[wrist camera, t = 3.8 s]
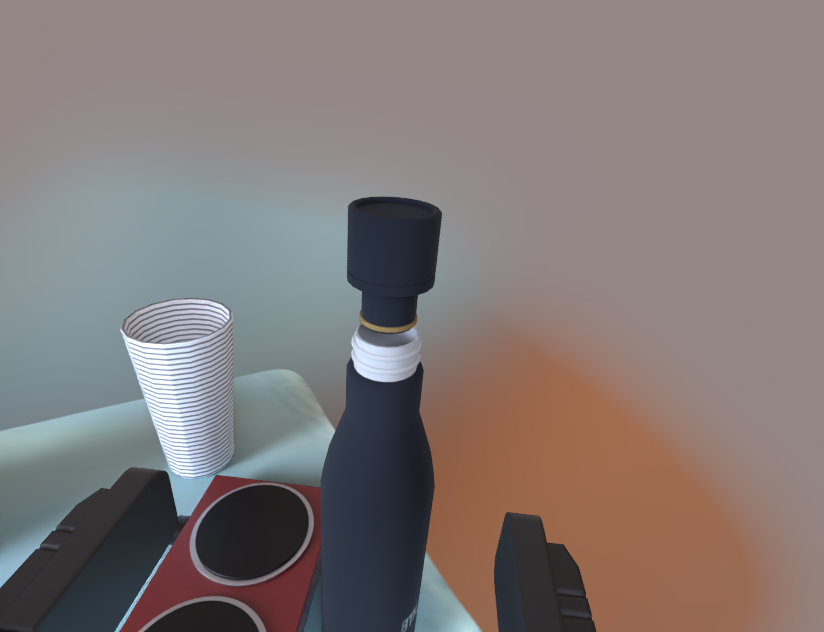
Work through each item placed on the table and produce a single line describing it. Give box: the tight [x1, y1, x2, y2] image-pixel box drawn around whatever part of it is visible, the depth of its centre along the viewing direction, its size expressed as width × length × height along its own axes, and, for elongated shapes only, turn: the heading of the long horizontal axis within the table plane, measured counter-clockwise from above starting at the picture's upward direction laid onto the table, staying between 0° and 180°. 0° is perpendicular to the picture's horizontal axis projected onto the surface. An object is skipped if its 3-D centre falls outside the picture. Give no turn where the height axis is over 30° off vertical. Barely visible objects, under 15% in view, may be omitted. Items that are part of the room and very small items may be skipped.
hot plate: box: [120, 475, 322, 632], centre depth 32 cm, size 12×20×3 cm, turn 176°
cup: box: [120, 298, 234, 479], centre depth 42 cm, size 8×8×16 cm
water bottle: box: [321, 197, 442, 632], centre depth 25 cm, size 6×6×30 cm
